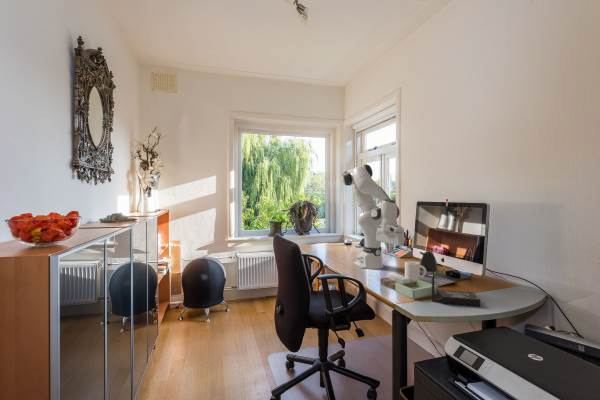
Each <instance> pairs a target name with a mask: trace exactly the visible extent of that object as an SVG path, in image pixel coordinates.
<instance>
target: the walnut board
mask: <svg viewBox="0 0 600 400" xmlns="http://www.w3.org/2000/svg"><path fill="white" fill-rule="evenodd" d="M395 283H398V282H396V281H394V280H391V279H389V277H383V278H380V283H379V284H380V285H382V286H384V287H387V288H388V289H391V290H393V291H395ZM399 284H401V283H399ZM401 285H404V286H406V287H409V288H411V287H416V286H417V281H416V282H415V281H412V280H410V283H407V284H401Z"/></svg>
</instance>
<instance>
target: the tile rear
mask: <svg viewBox="0 0 600 400" xmlns="http://www.w3.org/2000/svg"><path fill="white" fill-rule="evenodd" d="M401 276H402V275H401V274H398V273H392V274H391V273H390V274H389V275H388V278H389V279H391V280H394V281H396V277H401Z"/></svg>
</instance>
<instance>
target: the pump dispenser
mask: <svg viewBox="0 0 600 400" xmlns="http://www.w3.org/2000/svg"><path fill="white" fill-rule="evenodd" d="M419 254H421V255H422V257H421V260H420V262H419V263H420V265H422V266H424V267H425V269H426V275H433V267H434V276H435V275H436V274H437V273H438V262H437V258H436V257H435V254H434V253H433V252H432V251H430V250H428V251H426V250H425V252H422V251H420V252H419ZM420 272H421V275H423V274H424V270H423V269H422V268H420Z"/></svg>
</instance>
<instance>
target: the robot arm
mask: <svg viewBox="0 0 600 400" xmlns="http://www.w3.org/2000/svg"><path fill="white" fill-rule="evenodd" d="M373 175H374V174H373V168H372V167H371V166H370V165H369V164H363V165H359V166H356V167H354V168H351V169H348V170H345V171H344V172H342V174H341V181H342V183H343V184H344V185H345V186H351V187H352V192H353V195H354V196H355V200H356V202H357V204H358V207H359V209H361V210H363V212H361V213H360V214H359V215H358V216H357V222H358V225H359V226H360V228H361V229H362V232H363V236H364V237H363V238H364V246H362V251H361V252H359V253H358V254H357V256H356V260H354V261H353V264H354V265H356V266H358V267H359V268H360V269H361V268H362V269H371V270H379V269H383V268H384V266H385V265H384V263H383V262H384V261H383V255H382V243H384V246H385V249H386V251H387V252H393V248H394V246H398V247H402V246H404V245H405V234H404V232H405V228H404V227H403V226H401V225H399V224H398V220H397V219H398V218H399V216H400V208H399V206H398V205H397V202H396V200H394V199H391V198H390V197H389V195H388V194H387V193H386V191H385V190H384V189H383V188H382V187H381V186H380V185H379V184H378V183H377V182H375V180H374V179H373V178H372V177H373ZM373 197H374V198H376V199H377V200H379V202H378V203H376V202H375V200H374V198H373Z"/></svg>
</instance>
